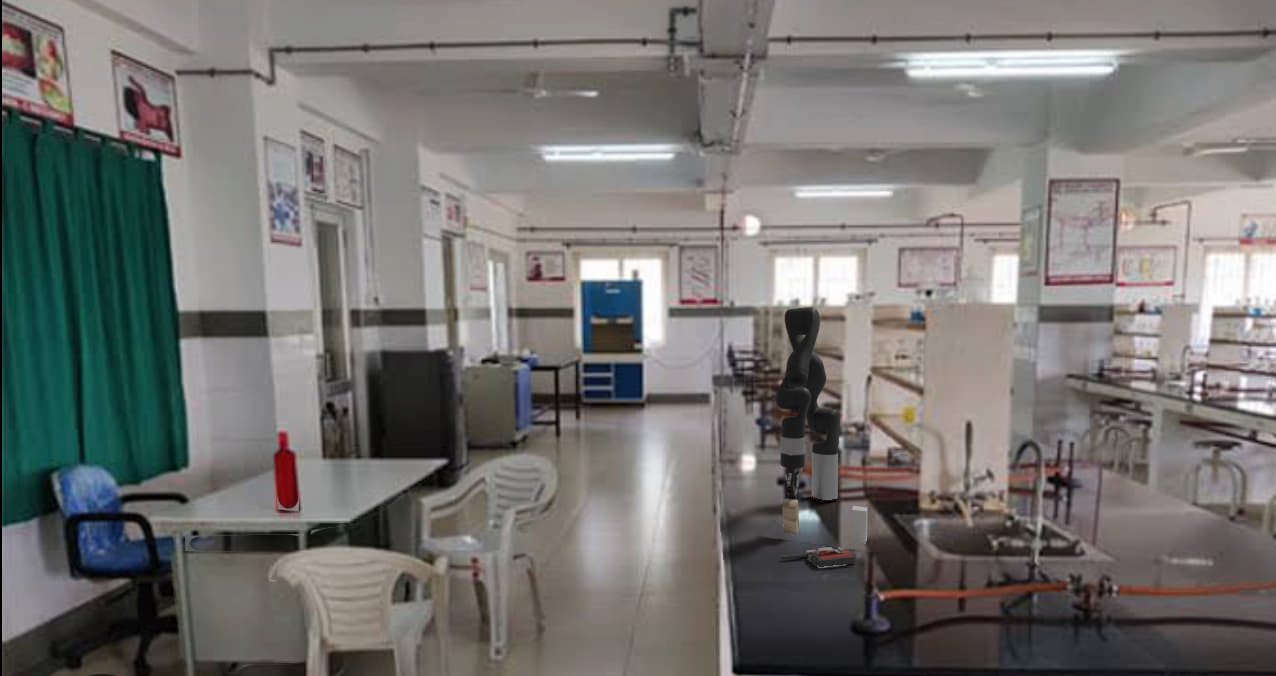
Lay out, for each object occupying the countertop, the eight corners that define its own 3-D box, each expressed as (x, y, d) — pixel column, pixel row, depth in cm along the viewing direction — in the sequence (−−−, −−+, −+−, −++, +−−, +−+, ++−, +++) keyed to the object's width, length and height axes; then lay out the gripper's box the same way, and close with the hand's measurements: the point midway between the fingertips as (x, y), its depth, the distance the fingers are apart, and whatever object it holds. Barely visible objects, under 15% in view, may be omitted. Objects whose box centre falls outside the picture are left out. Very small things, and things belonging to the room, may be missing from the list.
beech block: (786, 526, 206) (784, 498, 202) (799, 527, 204) (797, 499, 201) (783, 533, 202) (782, 505, 199) (797, 535, 200) (795, 507, 197)
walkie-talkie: (844, 554, 187) (779, 560, 182) (844, 539, 186) (779, 545, 182) (861, 566, 178) (794, 573, 174) (861, 550, 178) (794, 557, 173)
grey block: (853, 538, 198) (853, 505, 197) (867, 540, 196) (867, 507, 196) (851, 542, 194) (852, 509, 193) (865, 544, 192) (866, 511, 192)
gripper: (784, 446, 211) (784, 499, 211) (776, 454, 198) (775, 510, 199) (808, 448, 207) (808, 502, 208) (801, 456, 195) (800, 513, 196)
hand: (792, 506), depth 204 cm, fingers closed
